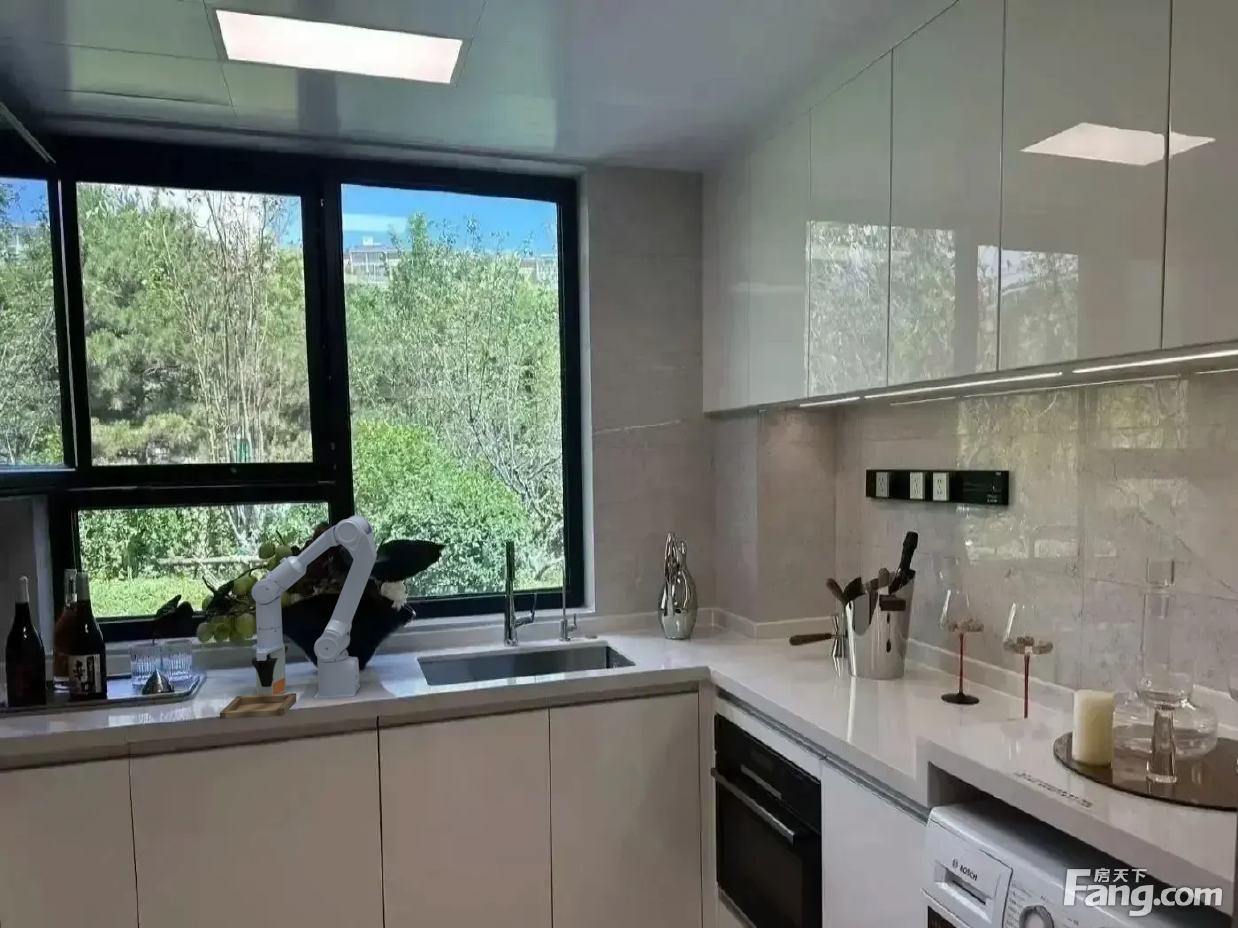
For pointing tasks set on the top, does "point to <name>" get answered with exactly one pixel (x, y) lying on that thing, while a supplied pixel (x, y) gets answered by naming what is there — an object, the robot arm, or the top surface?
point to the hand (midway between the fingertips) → (271, 681)
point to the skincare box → (274, 675)
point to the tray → (259, 706)
